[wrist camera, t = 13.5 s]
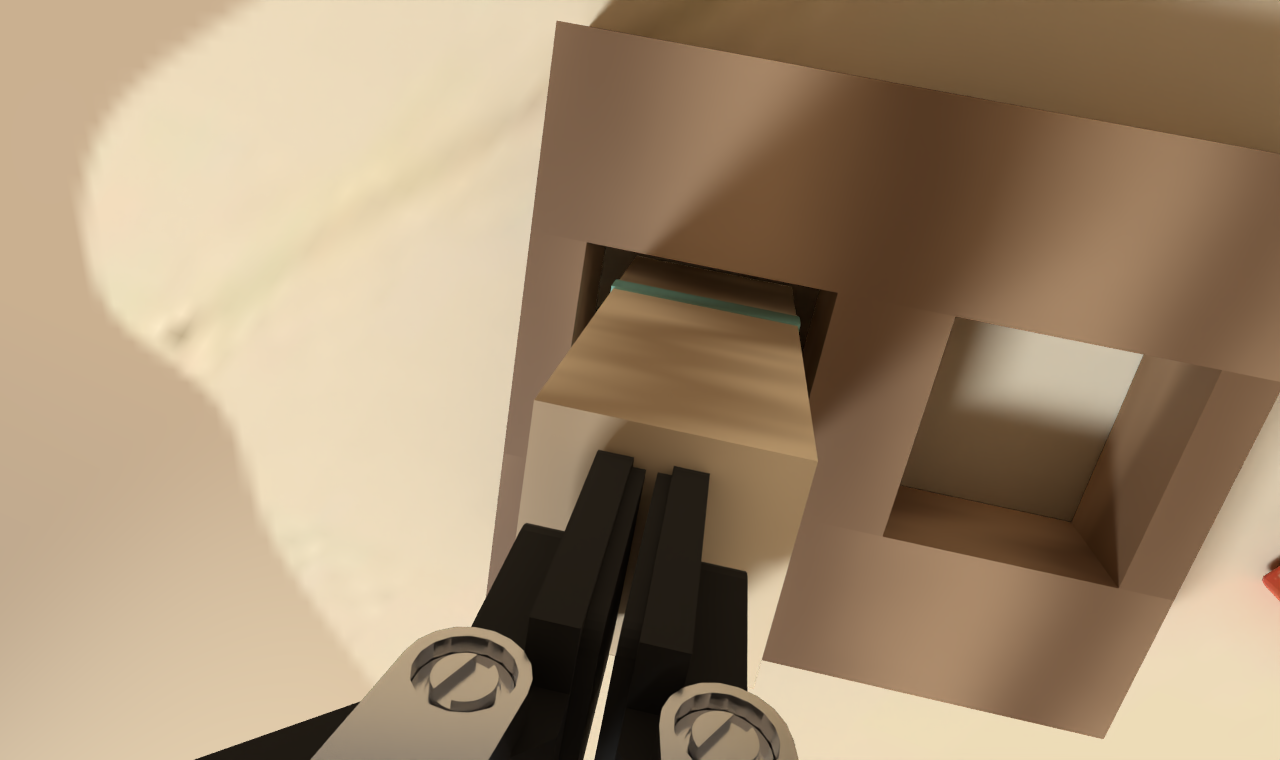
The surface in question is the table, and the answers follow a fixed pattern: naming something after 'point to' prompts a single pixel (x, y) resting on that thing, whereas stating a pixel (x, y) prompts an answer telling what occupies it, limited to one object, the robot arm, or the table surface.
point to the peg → (687, 418)
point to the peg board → (930, 341)
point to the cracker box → (1273, 582)
